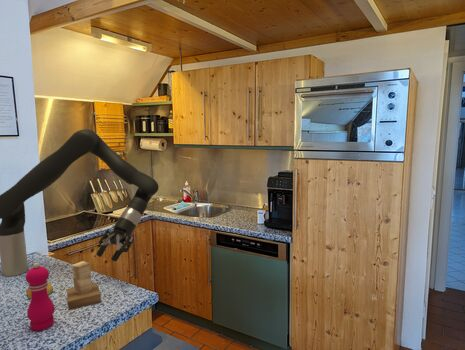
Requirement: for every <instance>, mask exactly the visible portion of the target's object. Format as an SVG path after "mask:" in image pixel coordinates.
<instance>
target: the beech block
mask: <svg viewBox="0 0 465 350" xmlns="http://www.w3.org/2000/svg"><path fill="white" fill-rule="evenodd" d="M71 266H72V276H73V277H72V278H73V288H74V292H75V293H77V294H80V295H83V294H85V293H87V292H89V291H91V290H92V275H91V273H92V272H91V263H90V262H87V261H84V260H81V261H79V262H77V263H74V264H72V265H71Z"/></svg>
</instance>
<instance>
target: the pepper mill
mask: <svg viewBox="0 0 465 350" xmlns="http://www.w3.org/2000/svg"><path fill="white" fill-rule="evenodd" d="M49 277H50V272H49V270H48V268H47V267H44V266H43V265H42V266H41V264H40V263H39V262H34V263H33V265H32V268H30V269H28V270H27V271H26V274H25V281H26V282H27V284H28V288H29V290H30V291H31V299H30V302H29V305H28V308H27V312H26V314H27V315H26V316H27V319H29V321H30V322H29V326H30V329H31V330H32V331H38V332H39V331H43V330H45V329H48V328H50V327H51V326H52V325H53V324H54V323H55V319H54V317H55V316H54V315H53V314H54V313H55V311H56V310H55V305H54V302H53V300H52V299H51V298H50V296H49V295H48V294H47V286H48V283H49V282H48V278H49Z"/></svg>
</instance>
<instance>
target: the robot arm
mask: <svg viewBox="0 0 465 350" xmlns="http://www.w3.org/2000/svg"><path fill="white" fill-rule="evenodd" d="M89 153H90V154H93V155H94V156H96V157H97V158H99V159H100V160H102V162H104V163H105V164H106V165H107V167H108V168H109V169H110V170H111V171H112V172H113V173H114V174H115V175H116V176H117V177H119V178H120V179H121V180H123V182H125V183H127V184H128V185H131V186H132V185H133V186H136V187H137V189H136V191H135V193H134V195H133V197H132V198H131V200H130V201H129V203H128V204H127V206H126V208H125V209H124V210H123V211H122V212H121V215H119V218H118V219H117V221H116V222H115V223H114V225H113V230H112V231H110V230H106V231H105V232H104V234H103V235H102V237H100V240H99V241H98V243H99V245H100V246H99V249H98V250H97V251H96V256H97V257H99V258H101V257H102V256H103V254H104V252H105V251H106V250H107V248H108V247H109V246H113V245H114V246H117V247H116V248H117V249H116V250H115V251H114V253H113V255H112V257H111V258H110V259H111V261H113V262H117V261H118V260H119V258H120V257H121V255H122V254H123V253H128V251H129V250H130V248H131V246H132V244H133V242H134V240H135V238H133V236H132V235H133V233H134V231H135V229H136V228H137V226H138V224H139V222H140V221H141V218H142V216H143V215H144V213H145V211H146V209H147V208H148V204H149V202H150V200H151V199H152V197H153V196H154V195H155V194H157V193H158V191H159V188H160V187H159V184H158V182H157V180H156V179H154V178H153V177H151V176H150V175H148V174H145V173H144V172H142V171H140V170H138V169H137V168H136V167H135V166H133V165H132V164H131V163H129V162H128V161H127V160H126V159H124V158H123V157H122V156H120V155H119V154H118V153H117V152H116V151H114V150H113V149H112V148H111V147H110V146H109V145H108V144H107V143H106V142H105V141H104V140H103V139H102V138H101V137H100V136H99V134H97V133H96V132H95V131H94V130H92V129H88V128H86V129H85V128H83V129H79V130H76V131H75V132H73V134H72V135H71V136H70V137H68V139H67V140H66V141H65V142H63V145H61V146H60V147H59V149H57V150H55V151H54V152H53V153H51V154H50V155H48V156H47V157H45V158H44V159H43V160H41V161H40V162H39V163H38V164H37V165H35V166H34V167H32V168H31V170H29V171H28V172H27V173H26V174H25V175H24V176H22V177H21V178H20V179H19V180H18V181H17V182H16V183H15V184H14V185H13V186H11V187H10V188H9V189H7V190H5V192H3V193H1V194H0V219H1V221H0V268H1V274H2V276H3V277H15V276H18V275H22V274H24V273H27V272H28V271H29V266H28V265H29V264H28V253H27V247H26V237H25V236H26V235H25V224H26V210H25V209H26V207H25V203H26V201H27V200H28V199H30V198H32V197H34V196H35V195H37V194H40V193H41V192H42V191H44V190H46V189H47V188H49V187H50V186H51V185H53V184H54V183H55V182H57V181H58V180H59V179H60V178H61V177H62V176H63V175H64V174H65V172H66V171H67V170H68V169H69V167H70V166H71V165H72V164H73V163H74V162H75V161H78V160H79V159H80V158H81V157H84V156H85V155H87V154H89Z"/></svg>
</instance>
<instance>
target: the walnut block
mask: <svg viewBox="0 0 465 350" xmlns="http://www.w3.org/2000/svg"><path fill="white" fill-rule="evenodd" d="M91 284H92V290H91V291H89V292H87V293H85V294H83V295H80V294H77V293H75V292H74V287H69V288H66V297H67V305H68V311H70V310H74V309H79V308H83V307H86V306H87V307H88V306H92V305H96V304H99V303H102V298H101V296H102V295H101V292H100V288H99V286H98V283H97V282H96V281H95V282H91Z"/></svg>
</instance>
